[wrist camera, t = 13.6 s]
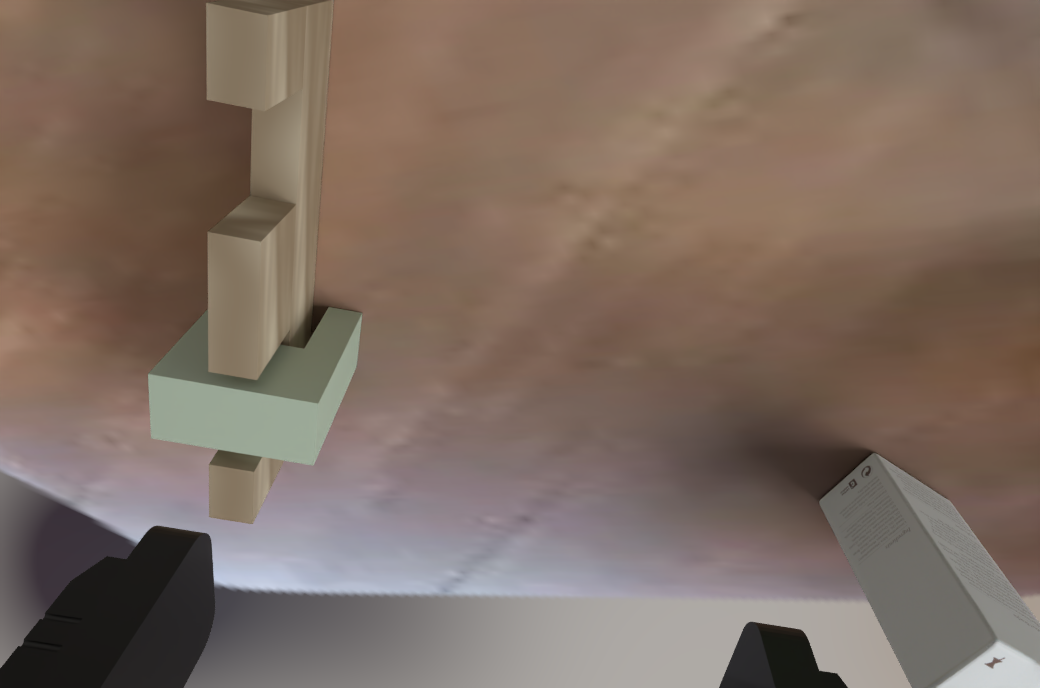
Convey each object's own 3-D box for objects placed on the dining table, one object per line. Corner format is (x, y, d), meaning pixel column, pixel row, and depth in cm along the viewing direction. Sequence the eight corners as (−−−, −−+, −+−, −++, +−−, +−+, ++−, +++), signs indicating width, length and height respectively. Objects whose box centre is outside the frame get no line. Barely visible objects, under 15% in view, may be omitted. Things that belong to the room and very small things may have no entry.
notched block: (362, 312, 35) (318, 403, 28) (356, 366, 37) (313, 465, 30) (227, 287, 35) (147, 374, 28) (226, 343, 36) (151, 438, 29)
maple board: (333, -1, 29) (267, 15, 22) (305, 418, 38) (252, 524, 31) (287, -11, 29) (206, 2, 22) (270, 412, 38) (209, 517, 31)
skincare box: (814, 501, 40) (912, 698, 30) (873, 448, 38) (999, 638, 28) (893, 549, 42) (1014, 754, 31) (953, 501, 40) (1102, 700, 29)
